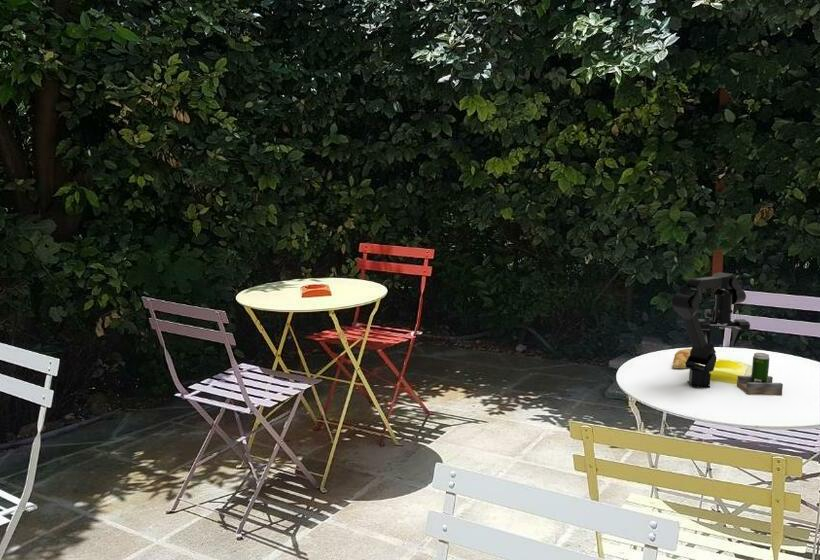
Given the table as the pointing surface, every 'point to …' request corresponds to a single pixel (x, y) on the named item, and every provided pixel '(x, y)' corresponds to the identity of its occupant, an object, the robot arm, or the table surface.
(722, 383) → the table surface
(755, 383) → the track board
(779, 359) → the table surface
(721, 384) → the table surface
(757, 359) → the beer can
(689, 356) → the robot arm
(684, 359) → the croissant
